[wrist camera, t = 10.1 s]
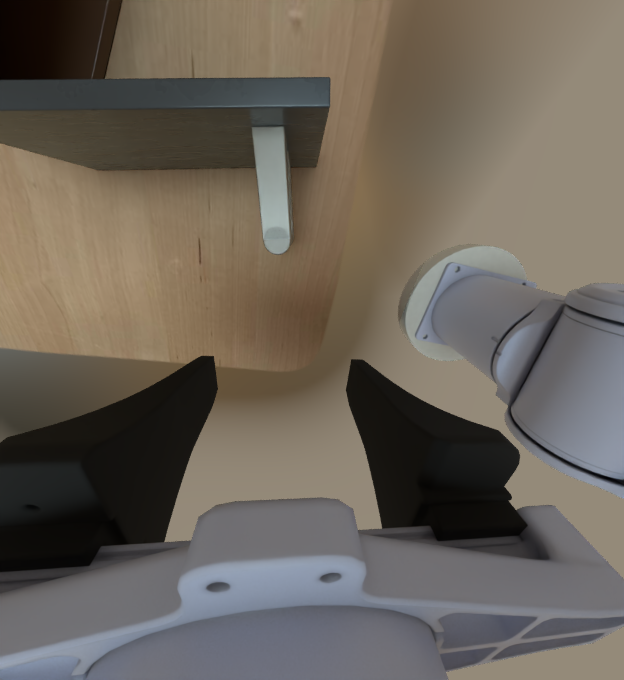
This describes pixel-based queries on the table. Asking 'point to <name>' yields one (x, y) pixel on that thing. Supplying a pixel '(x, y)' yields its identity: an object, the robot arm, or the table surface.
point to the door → (177, 129)
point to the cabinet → (56, 38)
